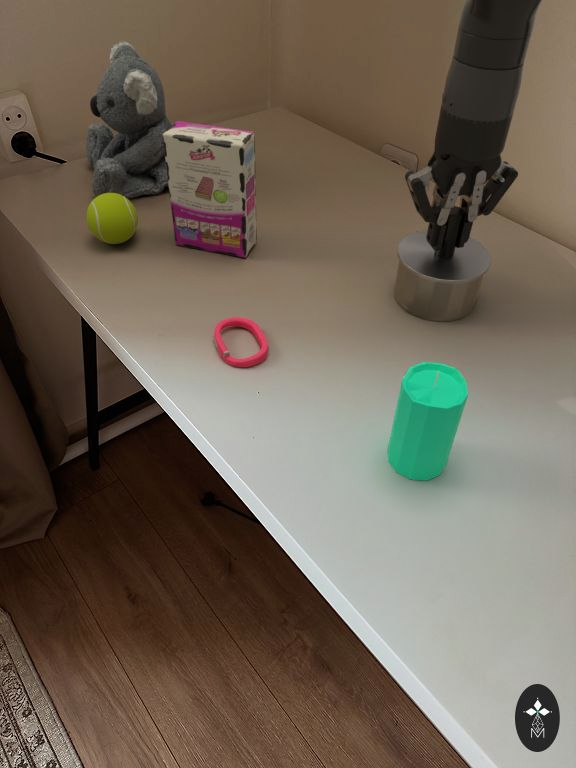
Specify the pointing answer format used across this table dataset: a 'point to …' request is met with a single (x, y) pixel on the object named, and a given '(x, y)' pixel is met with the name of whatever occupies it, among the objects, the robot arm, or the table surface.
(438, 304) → the tin
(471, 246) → the tin lid
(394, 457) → the candle
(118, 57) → the koala plush
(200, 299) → the table surface
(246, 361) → the fitness band
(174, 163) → the candy bar box
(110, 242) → the tennis ball
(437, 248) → the robot arm
